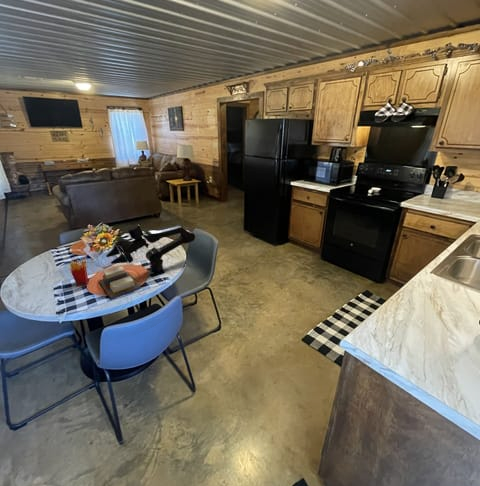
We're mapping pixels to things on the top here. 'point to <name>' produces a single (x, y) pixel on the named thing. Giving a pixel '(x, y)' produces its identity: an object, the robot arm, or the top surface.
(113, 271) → the cream book
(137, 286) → the walnut board
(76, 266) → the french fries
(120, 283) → the cream books
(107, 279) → the grey rectangular block
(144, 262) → the top surface
